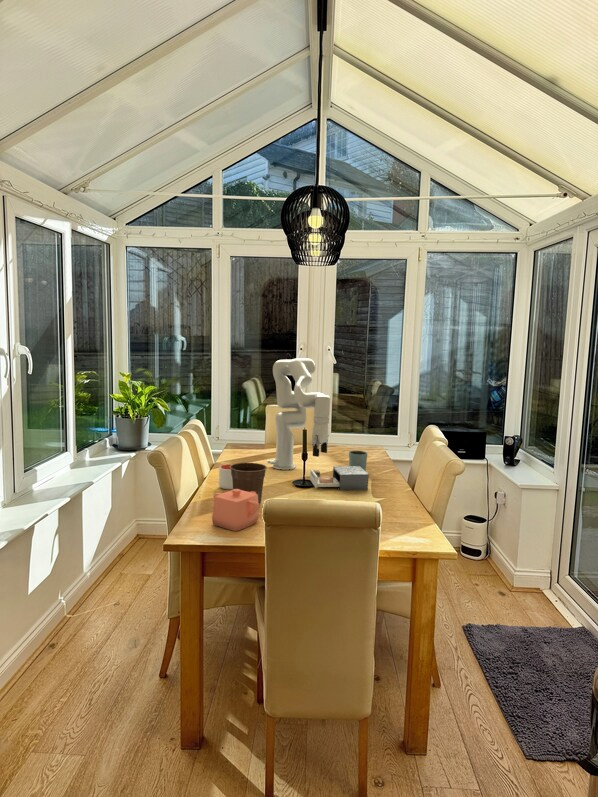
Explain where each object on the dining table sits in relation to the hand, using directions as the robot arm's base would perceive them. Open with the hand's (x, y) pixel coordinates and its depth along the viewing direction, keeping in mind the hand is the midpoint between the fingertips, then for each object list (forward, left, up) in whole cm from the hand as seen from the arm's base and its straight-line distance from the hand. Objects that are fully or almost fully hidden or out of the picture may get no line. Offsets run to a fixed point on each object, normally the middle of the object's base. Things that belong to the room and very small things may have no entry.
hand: (319, 454), depth 269 cm
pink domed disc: (+4, 0, -14) cm, 15 cm away
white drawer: (+4, 0, -15) cm, 15 cm away
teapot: (-42, -48, -16) cm, 66 cm away
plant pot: (-37, -23, -16) cm, 47 cm away
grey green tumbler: (+26, +22, -16) cm, 38 cm away
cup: (-44, 0, -16) cm, 47 cm away
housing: (+16, 0, -16) cm, 23 cm away
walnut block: (+1, +13, -16) cm, 21 cm away
